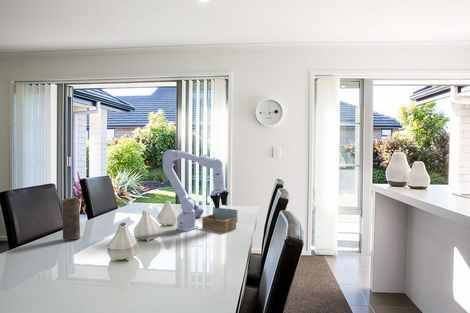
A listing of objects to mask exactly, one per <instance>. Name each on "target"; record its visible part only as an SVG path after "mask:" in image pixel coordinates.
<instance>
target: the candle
mask: <svg viewBox="0 0 470 313" xmlns="http://www.w3.org/2000/svg"><path fill="white" fill-rule="evenodd" d="M61 208H62V210H61V211H62V212H61V213H62V218H61V220H62V239H63V240H68V241H69V240H74V239H75V240H76V239H77V240H79V239H81V222H80V197H66V198H65V199H62V200H61Z"/></svg>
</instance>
